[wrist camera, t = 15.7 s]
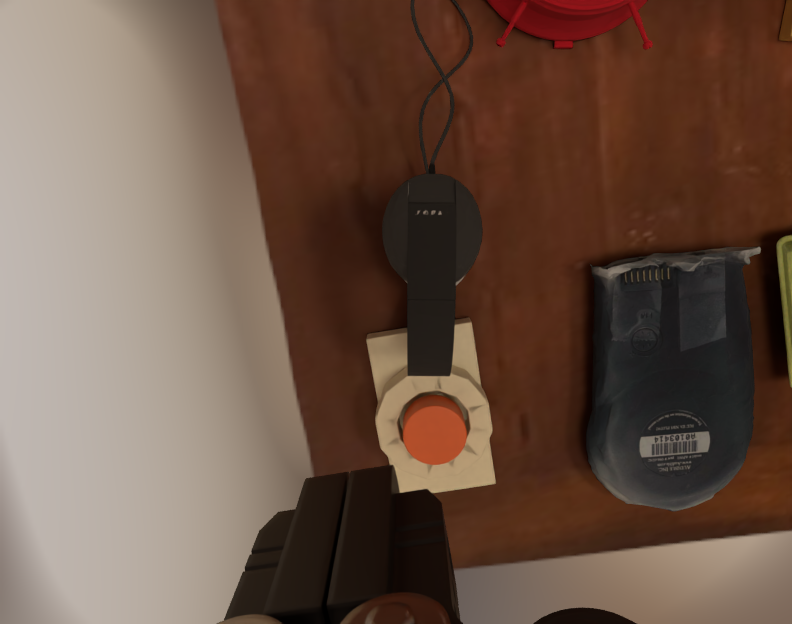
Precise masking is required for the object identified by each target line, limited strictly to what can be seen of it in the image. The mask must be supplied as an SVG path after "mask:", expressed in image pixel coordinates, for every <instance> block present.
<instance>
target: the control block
mask: <svg viewBox="0 0 792 624" xmlns="http://www.w3.org/2000/svg"><path fill="white" fill-rule="evenodd" d="M366 341H367V347H368V352H369V357H370V363H371V368H372V373H373V379H374V384H375V389H376V395H377V400H378V405H377V408H376V417H375V423H376V428H377V433H378V439H379V444H380V447H381V449H382V451H383V452H384V453H385V454H386V455H387V456H388V459H389V464H390V465H394V468H395V471H396V475H397V480H398V485H399V490H400V493H403V492H409V491H415V490H422V489H428V490H429V491H430V492H431V493H437V492H444V491H451V490H458V489H464V488H471V487H478V486H484V485H491V484H495V483H496V480H495V474H494V467H493V461H492V454H491V447H490V441H489V438H490V436H491V433H492V422H491V416H490V409H489V403H488V400H487V397H486V394H485V392H484V390H483V389H482V388H481V381H480V374H479V368H478V361H477V354H476V348H475V341H474V334H473V328H472V322H471V320H470V318H463V319H457V320H455V328H454V347H453V360H452V369H451V374H450V376H408V373H407V328H401V329H395V330H389V331H383V332H377V333H370V334H368V335H367V339H366ZM428 395H440V396H444V397H447V398H449V399H451V400H452V401H453V402H455V403H456V404H457V405H458V407H459V408H460V409H461V411H462V414H463V416H464V421H465V425H466V430H467V440H466V444H465V446H464V448H463V450H462V451H461V453H460V454H459V455H458V456H457V457H456V458H455V459H453V460H451V461H450V462H447V463H444V464H440V465H430V464H425V463H422V462H420V461H418V460H416V459H415V458H414V457H413V456H412V455H410V453H409V452H408V451H407V449H406V447H405V445H404V441H403V419H404V415H405V413H406V410H407V409H408V407H409V406H410V405H411V404H412V403H413V402H414V401H416V400H417V399H419V398H421V397H424V396H428Z"/></svg>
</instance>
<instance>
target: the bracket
mask: <svg viewBox="0 0 792 624" xmlns="http://www.w3.org/2000/svg"><path fill="white" fill-rule="evenodd" d="M779 40H782V41H792V0H786V5H785V10H784V15H783V20H782V25H781V30H780V35H779Z"/></svg>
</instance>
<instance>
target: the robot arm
mask: <svg viewBox="0 0 792 624" xmlns="http://www.w3.org/2000/svg"><path fill="white" fill-rule="evenodd" d="M217 624H463V623H462V622H461V621H460V614H459V608H458V598H457V590H456V582H455V576H454V570H453V565H452V559H451V554H450V548H449V542H448V537H447V531H446V526H445V520H444V514H443V509H442V503H441V502H440V501H439V500H438V499H437V498H436V497H435V496H434V495H433V494H432V493H431V492H430V491H429V490H428V489H422V490H415V491H409V492H403V493H400V490H399V485H398V480H397V475H396V471H395V468H394V465H387V466H381V467H374V468H368V469H362V470H356V471H351V472H350V473H349V472H344V473H337V474H331V475H325V476H318V477H312V478H306V479H305V482H304V485H303V488H302V491H301V494H300V497H299V501H298V504H297V507H296V509H295V510H288V511H282V512H278V513H277V514H276V515H275V516H274V517H273V518H272V519H271V520H270V521H269V522H268V523H267V524H266V525H265V526H264V527H263V528H262V529H261V530H260V531H259V533H258V536H257V538H256V541H255V543H254V546H253V548H252V554H251V555H250V556H249V558H248V561H247V563H246V566H245V572H243V573H242V576H241V578H240V581H239V583H238V586H237V588H236V591H235V593H234V596H233V598H232V601H231V603H230V606H229V609H228V611H227V614H226V616H225V618H224V621H222V622H219V623H217ZM534 624H636V623H634V622H633V621H630V620H628V619H626V618H624V617H622V616H620V615H618V614H615V613H612V612H608V611H605V610H600V609H594V608H571V609H565V610H560V611H557V612H554V613H551V614H549V615H547V616H544V617H542V618H541V619H539V620H538V621H536V622H535V623H534Z"/></svg>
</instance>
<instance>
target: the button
mask: <svg viewBox="0 0 792 624" xmlns="http://www.w3.org/2000/svg"><path fill="white" fill-rule="evenodd" d="M466 440H467V430H466V425H465V421H464V416H463V414H462V411H461V409H460V408H459V407H458V405H457V404H456V403H455V402H453V401H452V400H451V399H449V398H447V397H444V396H440V395H428V396H424V397H421V398H419V399H417V400H416V401H414V402H413V403H412V404H411V405H410V406H409V407H408V409H407V410H406V413H405V415H404V419H403V441H404V445H405V447H406V449H407V451H408V452H409V453H410V455H412V456H413V457H414V458H415V459H416V460H418V461H420V462H422V463H425V464H430V465H440V464H444V463H447V462H450V461H451V460H453V459H455V458H456V457H457V456H458V455H459V454H460V453H461V451H462V450H463V448H464V446H465V444H466Z"/></svg>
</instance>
